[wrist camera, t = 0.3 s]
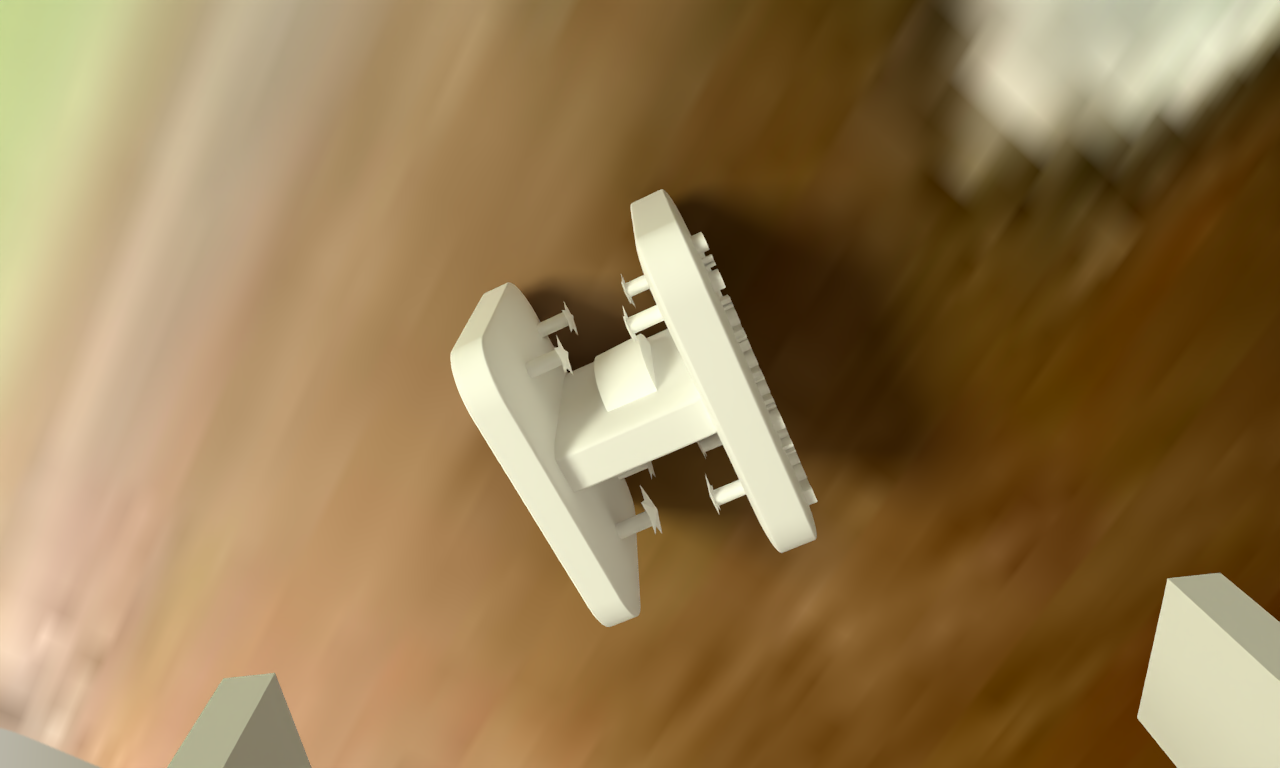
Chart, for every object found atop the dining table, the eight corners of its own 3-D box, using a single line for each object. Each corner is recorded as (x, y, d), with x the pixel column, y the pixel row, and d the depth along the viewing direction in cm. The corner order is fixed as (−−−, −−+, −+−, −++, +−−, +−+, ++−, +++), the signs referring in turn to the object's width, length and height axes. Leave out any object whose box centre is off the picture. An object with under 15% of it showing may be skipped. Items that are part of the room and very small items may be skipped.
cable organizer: (476, 268, 37) (422, 350, 26) (671, 175, 36) (698, 221, 25) (608, 503, 42) (607, 649, 32) (781, 430, 41) (842, 558, 30)
